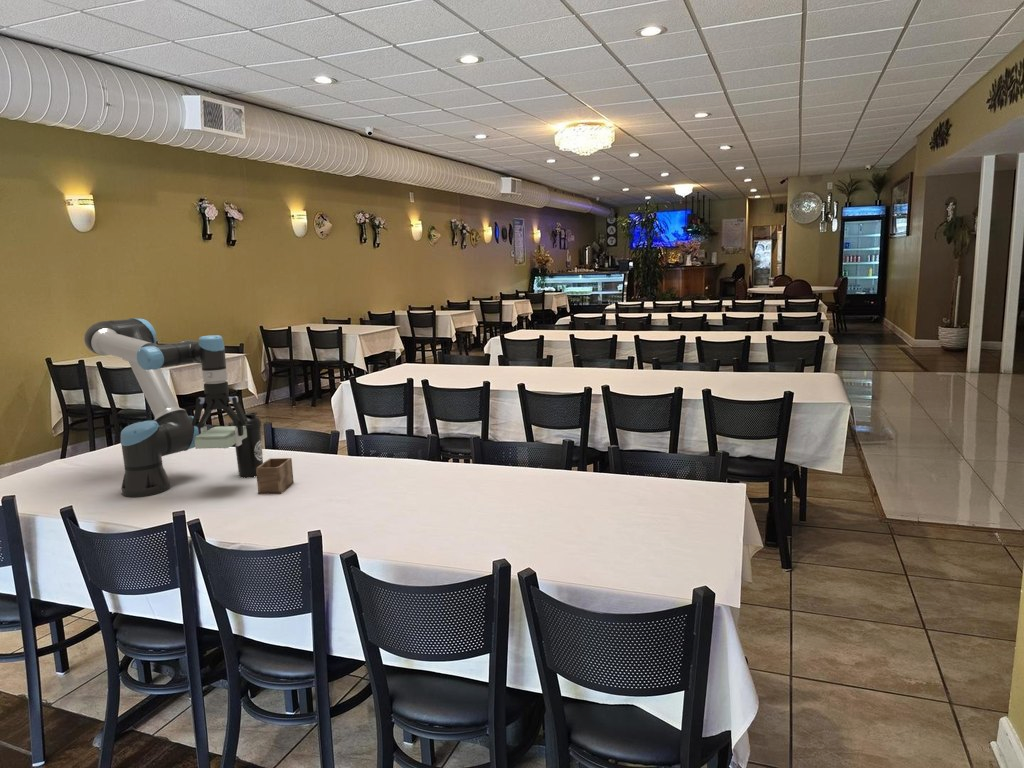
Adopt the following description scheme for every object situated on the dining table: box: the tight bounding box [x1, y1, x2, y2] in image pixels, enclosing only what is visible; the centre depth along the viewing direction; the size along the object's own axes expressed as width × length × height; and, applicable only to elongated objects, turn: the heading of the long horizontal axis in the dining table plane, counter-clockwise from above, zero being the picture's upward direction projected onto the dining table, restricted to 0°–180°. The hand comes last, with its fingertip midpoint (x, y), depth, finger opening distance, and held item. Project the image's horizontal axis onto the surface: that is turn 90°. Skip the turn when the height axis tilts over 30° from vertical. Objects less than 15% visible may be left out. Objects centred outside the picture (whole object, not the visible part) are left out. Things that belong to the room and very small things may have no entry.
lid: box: [194, 425, 247, 450], centre depth 241 cm, size 15×11×4 cm
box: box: [256, 457, 295, 495], centre depth 244 cm, size 12×8×9 cm, turn 177°
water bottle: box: [231, 411, 264, 479], centre depth 260 cm, size 10×10×23 cm
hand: (222, 445), depth 242 cm, fingers closed on lid, 11 cm apart
